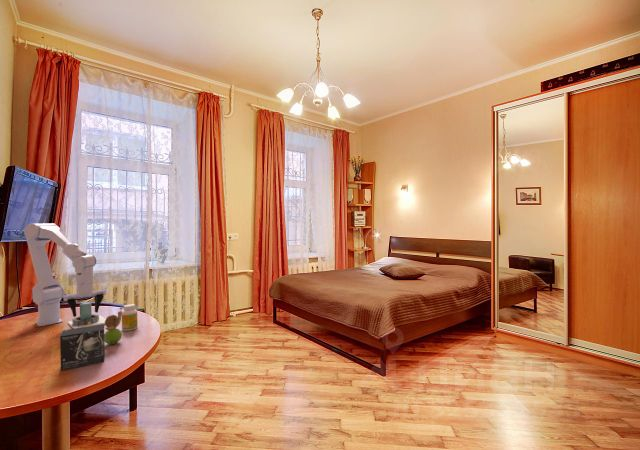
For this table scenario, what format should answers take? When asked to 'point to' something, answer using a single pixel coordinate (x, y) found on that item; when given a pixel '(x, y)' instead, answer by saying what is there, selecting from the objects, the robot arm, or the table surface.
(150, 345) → the table surface
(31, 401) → the table surface
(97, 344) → the box
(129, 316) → the supplement bottle
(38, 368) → the table surface
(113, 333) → the snail figurine
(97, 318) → the collar plate
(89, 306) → the teal peg
